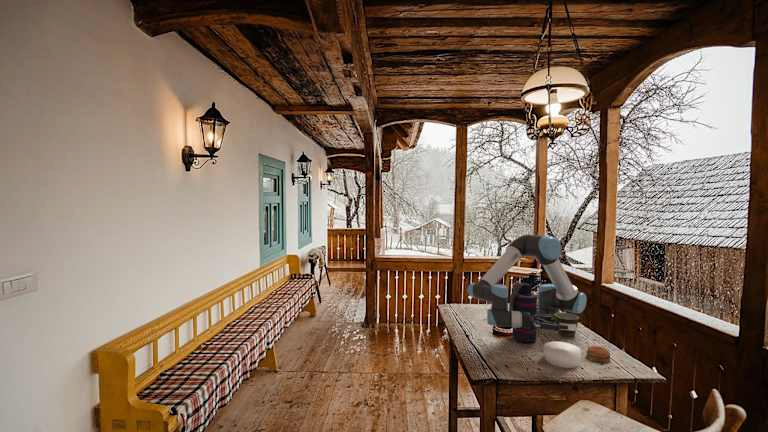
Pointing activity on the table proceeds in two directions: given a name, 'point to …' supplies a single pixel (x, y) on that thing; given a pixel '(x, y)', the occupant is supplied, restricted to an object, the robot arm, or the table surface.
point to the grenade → (523, 310)
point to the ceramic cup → (566, 319)
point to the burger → (598, 354)
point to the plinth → (562, 354)
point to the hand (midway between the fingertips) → (573, 323)
